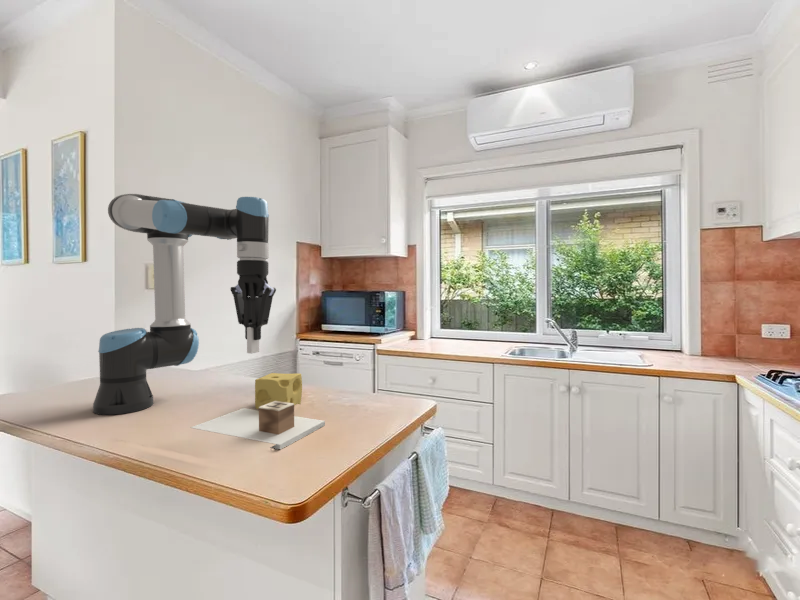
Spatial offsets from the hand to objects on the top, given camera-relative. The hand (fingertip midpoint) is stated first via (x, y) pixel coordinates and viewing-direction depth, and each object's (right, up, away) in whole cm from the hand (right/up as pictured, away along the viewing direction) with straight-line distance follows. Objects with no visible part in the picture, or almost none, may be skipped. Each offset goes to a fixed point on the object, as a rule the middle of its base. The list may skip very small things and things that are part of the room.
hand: (253, 352), depth 106 cm
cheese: (+1, -20, +19) cm, 27 cm away
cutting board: (+1, -20, +1) cm, 20 cm away
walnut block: (+7, -13, -3) cm, 15 cm away
